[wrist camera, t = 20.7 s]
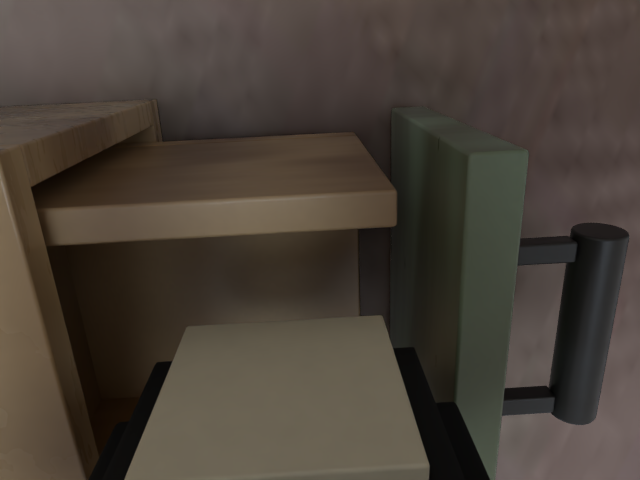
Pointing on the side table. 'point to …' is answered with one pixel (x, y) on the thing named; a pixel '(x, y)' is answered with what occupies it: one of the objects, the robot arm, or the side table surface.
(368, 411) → the block
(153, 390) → the robot arm
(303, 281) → the drawer
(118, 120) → the cabinet
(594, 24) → the side table surface
